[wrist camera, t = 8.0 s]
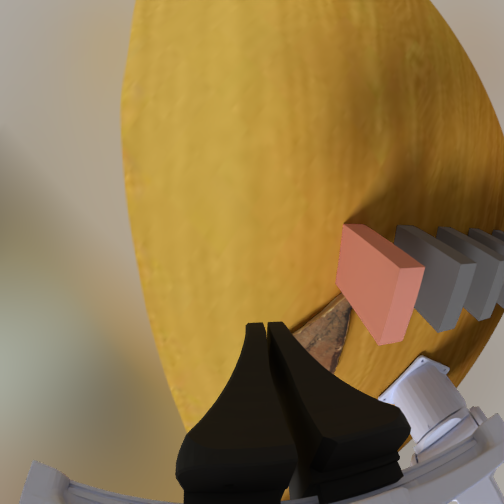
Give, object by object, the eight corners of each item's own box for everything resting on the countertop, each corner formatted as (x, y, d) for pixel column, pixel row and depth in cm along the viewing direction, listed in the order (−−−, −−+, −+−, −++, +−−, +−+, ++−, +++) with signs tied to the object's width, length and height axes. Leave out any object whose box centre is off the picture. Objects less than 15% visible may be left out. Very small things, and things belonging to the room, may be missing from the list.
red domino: (363, 224, 20) (425, 266, 13) (354, 282, 22) (402, 340, 15) (343, 223, 20) (400, 268, 13) (335, 283, 22) (378, 345, 14)
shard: (349, 280, 22) (357, 290, 21) (382, 328, 25) (390, 339, 23) (250, 351, 24) (252, 365, 23) (296, 387, 27) (300, 399, 25)
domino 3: (478, 228, 21) (532, 258, 14) (467, 272, 23) (515, 308, 16) (469, 228, 21) (525, 258, 14) (458, 273, 23) (507, 311, 16)
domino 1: (413, 225, 21) (477, 263, 13) (402, 278, 22) (454, 328, 15) (397, 225, 20) (461, 264, 13) (386, 280, 22) (437, 332, 15)
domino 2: (450, 227, 21) (510, 260, 14) (439, 275, 23) (490, 317, 15) (438, 226, 21) (499, 261, 13) (426, 276, 23) (478, 321, 15)
